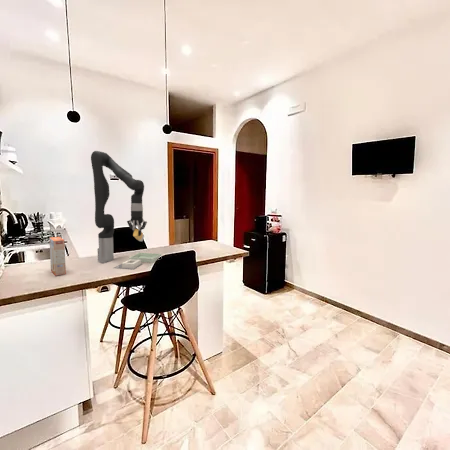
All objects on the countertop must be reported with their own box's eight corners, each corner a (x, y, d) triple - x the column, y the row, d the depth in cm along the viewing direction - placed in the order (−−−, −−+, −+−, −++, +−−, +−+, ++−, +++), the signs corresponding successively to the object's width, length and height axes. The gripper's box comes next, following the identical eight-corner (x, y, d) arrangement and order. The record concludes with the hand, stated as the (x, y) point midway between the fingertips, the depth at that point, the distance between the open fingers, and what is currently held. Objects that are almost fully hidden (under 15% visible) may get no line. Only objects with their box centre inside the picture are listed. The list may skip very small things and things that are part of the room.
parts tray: (128, 262, 184) (128, 257, 183) (139, 256, 199) (139, 252, 199) (152, 263, 181) (152, 258, 181) (161, 258, 197) (161, 253, 196)
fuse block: (112, 269, 166) (112, 263, 165) (124, 263, 180) (124, 258, 179) (133, 271, 164) (133, 264, 164) (143, 265, 178) (143, 259, 177)
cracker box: (66, 274, 155) (64, 239, 152) (54, 276, 151) (52, 240, 148) (61, 268, 165) (60, 236, 162) (50, 270, 161) (48, 237, 158)
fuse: (138, 241, 183) (132, 235, 174) (140, 235, 185) (134, 228, 176) (142, 241, 182) (137, 235, 173) (144, 235, 184) (139, 229, 176)
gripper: (124, 210, 172) (124, 236, 174) (144, 210, 170) (144, 237, 172) (129, 209, 179) (130, 234, 181) (149, 210, 177) (149, 235, 179)
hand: (137, 235), depth 177 cm, fingers closed on fuse, 2 cm apart
